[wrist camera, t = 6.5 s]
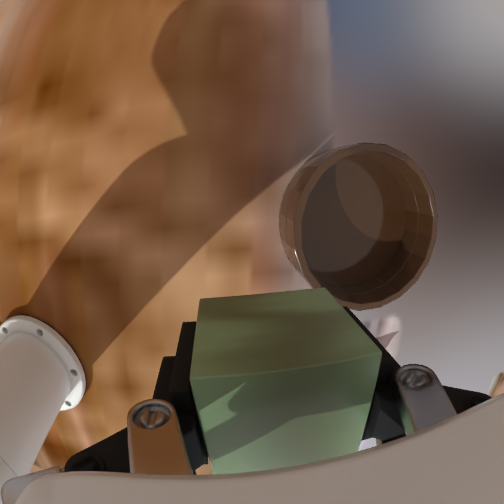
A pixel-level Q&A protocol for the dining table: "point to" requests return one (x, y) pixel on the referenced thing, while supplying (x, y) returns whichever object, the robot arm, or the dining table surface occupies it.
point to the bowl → (359, 223)
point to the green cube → (280, 379)
